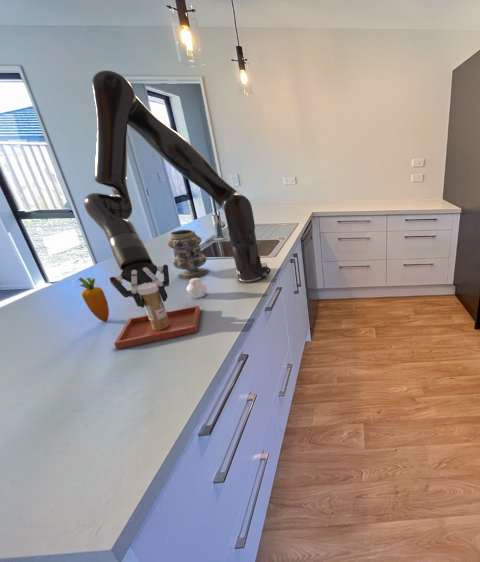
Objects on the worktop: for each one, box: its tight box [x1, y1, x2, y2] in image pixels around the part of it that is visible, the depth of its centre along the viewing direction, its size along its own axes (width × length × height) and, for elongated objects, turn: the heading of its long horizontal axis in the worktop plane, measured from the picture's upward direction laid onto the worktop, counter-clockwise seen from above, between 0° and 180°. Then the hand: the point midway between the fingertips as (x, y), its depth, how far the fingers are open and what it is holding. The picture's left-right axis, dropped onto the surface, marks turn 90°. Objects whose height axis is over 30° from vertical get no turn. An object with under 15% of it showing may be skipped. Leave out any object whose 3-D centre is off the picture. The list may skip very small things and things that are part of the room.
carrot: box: [77, 277, 110, 323], centre depth 89 cm, size 5×5×15 cm
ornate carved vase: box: [166, 229, 208, 279], centre depth 122 cm, size 12×12×18 cm
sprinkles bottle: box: [137, 282, 170, 330], centre depth 85 cm, size 5×5×13 cm
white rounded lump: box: [186, 277, 208, 299], centre depth 105 cm, size 6×6×7 cm
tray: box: [114, 305, 201, 350], centre depth 87 cm, size 19×14×2 cm
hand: (154, 303), depth 83 cm, fingers closed on sprinkles bottle, 4 cm apart
